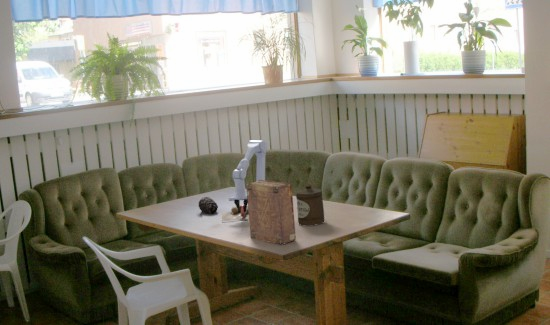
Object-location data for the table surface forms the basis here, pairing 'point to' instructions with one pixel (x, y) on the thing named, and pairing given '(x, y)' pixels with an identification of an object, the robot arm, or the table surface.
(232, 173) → the robot arm
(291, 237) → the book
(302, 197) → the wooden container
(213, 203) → the pine cone
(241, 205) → the lever
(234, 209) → the tan round ball
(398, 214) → the table surface
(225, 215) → the base
